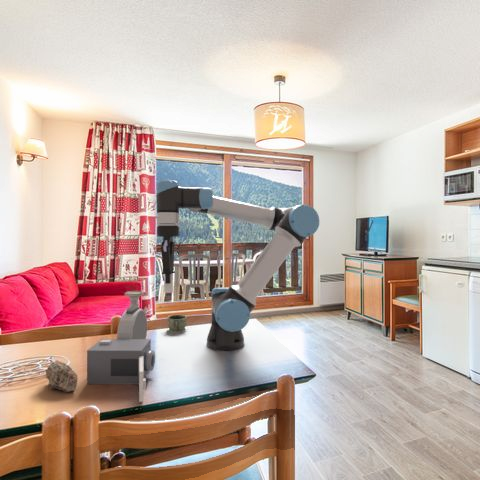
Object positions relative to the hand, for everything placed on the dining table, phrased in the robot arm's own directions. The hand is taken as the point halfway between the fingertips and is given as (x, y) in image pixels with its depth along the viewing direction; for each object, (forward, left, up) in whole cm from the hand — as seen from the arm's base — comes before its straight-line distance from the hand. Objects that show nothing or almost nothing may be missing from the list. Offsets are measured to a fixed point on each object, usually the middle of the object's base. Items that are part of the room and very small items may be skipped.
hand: (168, 292), depth 109 cm
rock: (+26, +19, -24) cm, 41 cm away
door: (+2, +23, -24) cm, 33 cm away
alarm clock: (+13, -3, -24) cm, 28 cm away
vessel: (+3, -35, -24) cm, 42 cm away
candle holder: (+18, -20, -24) cm, 36 cm away
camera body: (+11, +12, -24) cm, 29 cm away
